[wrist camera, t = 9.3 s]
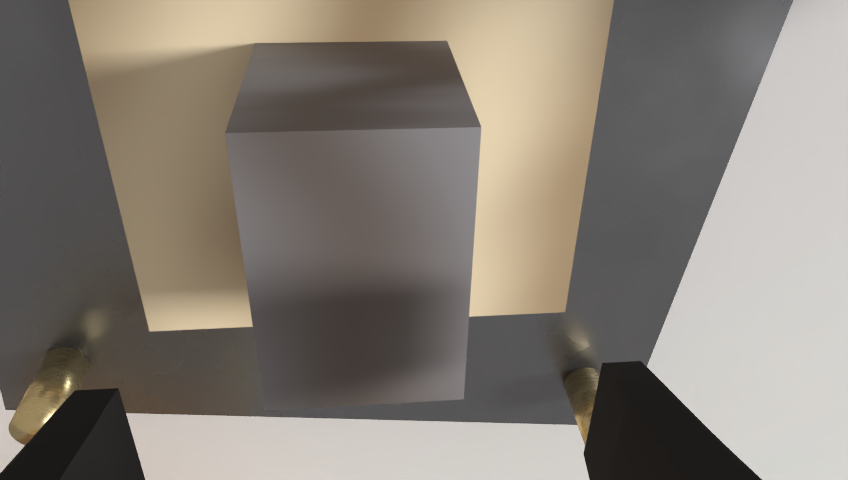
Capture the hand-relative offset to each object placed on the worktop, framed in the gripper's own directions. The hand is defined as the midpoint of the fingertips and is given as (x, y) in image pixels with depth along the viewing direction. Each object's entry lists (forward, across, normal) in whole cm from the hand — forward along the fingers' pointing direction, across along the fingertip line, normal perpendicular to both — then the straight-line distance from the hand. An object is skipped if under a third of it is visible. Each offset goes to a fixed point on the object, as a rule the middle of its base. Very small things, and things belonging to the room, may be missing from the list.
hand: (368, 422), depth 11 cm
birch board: (+8, 0, -1) cm, 8 cm away
